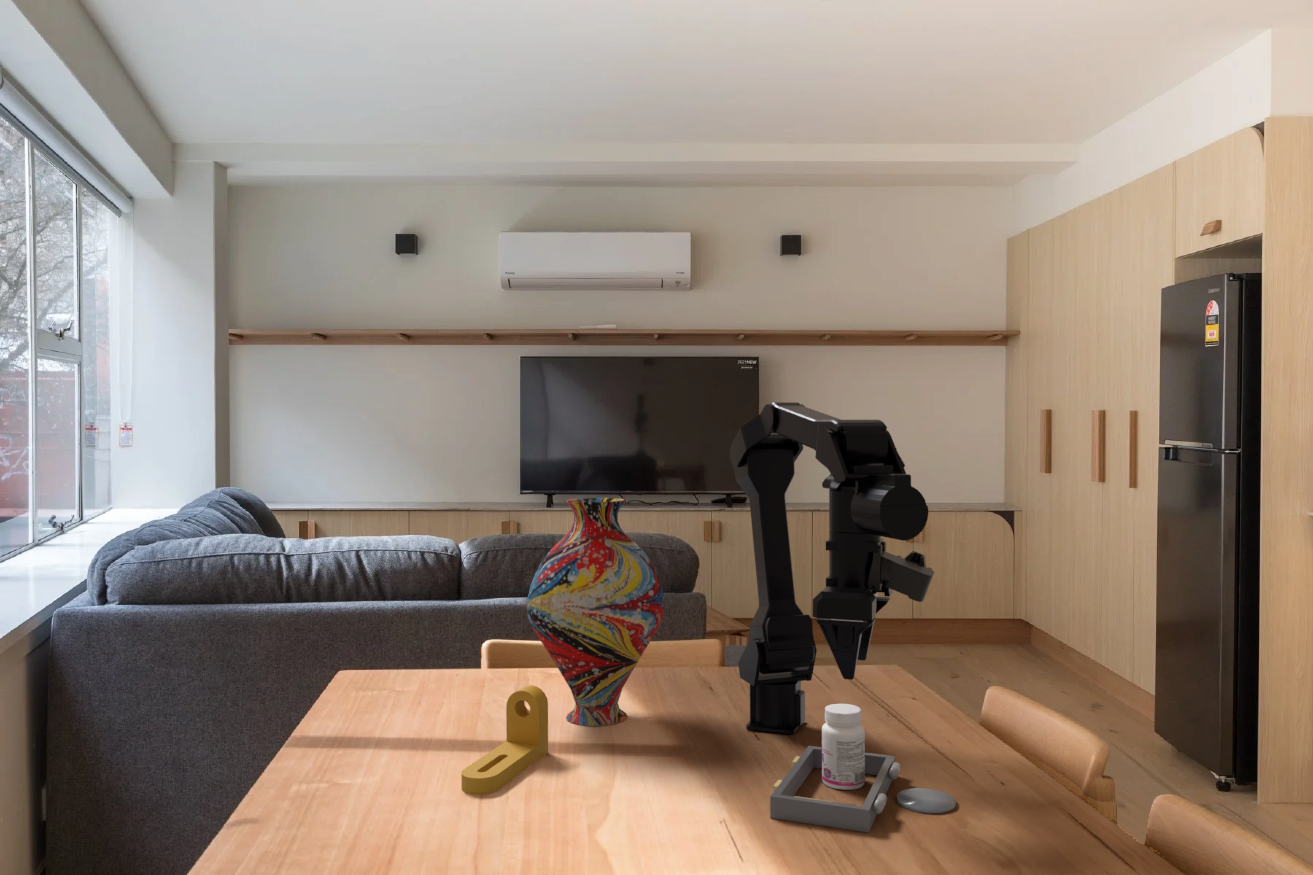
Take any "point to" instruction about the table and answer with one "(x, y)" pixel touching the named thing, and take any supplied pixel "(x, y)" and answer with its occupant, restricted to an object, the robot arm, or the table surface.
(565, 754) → the table surface
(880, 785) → the gray rectangular frame
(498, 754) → the bracket
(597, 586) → the vase
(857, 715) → the pill bottle
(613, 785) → the table surface
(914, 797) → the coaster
